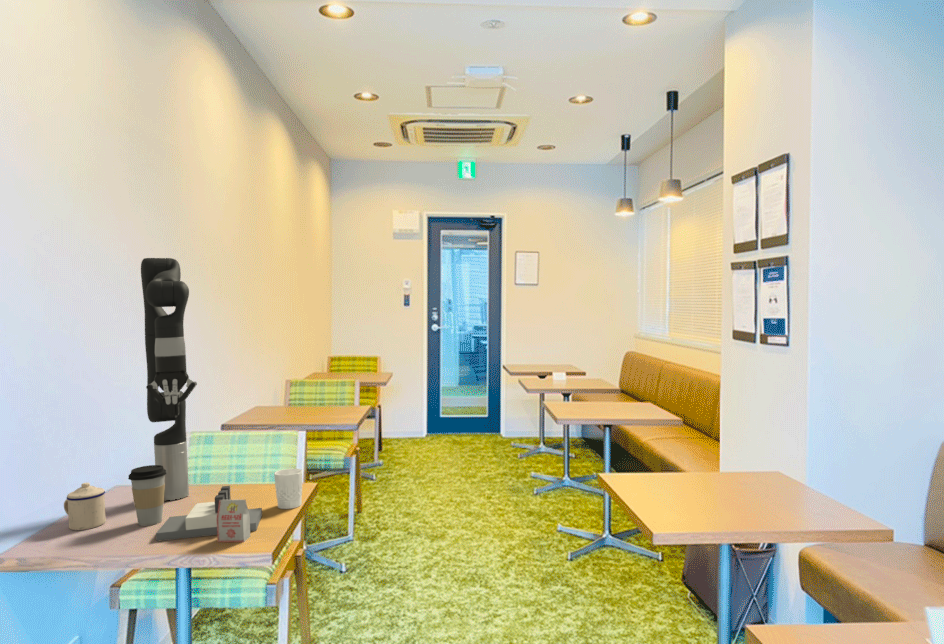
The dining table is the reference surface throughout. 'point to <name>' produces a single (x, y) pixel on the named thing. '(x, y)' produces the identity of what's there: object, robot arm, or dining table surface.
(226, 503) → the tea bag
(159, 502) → the coffee cup
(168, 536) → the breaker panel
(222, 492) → the handle
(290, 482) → the white cup
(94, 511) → the teacup with lid
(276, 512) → the dining table surface
